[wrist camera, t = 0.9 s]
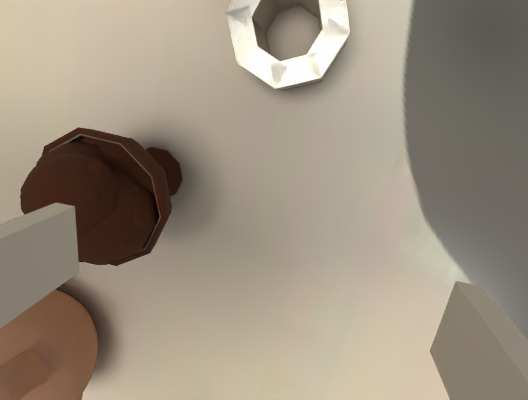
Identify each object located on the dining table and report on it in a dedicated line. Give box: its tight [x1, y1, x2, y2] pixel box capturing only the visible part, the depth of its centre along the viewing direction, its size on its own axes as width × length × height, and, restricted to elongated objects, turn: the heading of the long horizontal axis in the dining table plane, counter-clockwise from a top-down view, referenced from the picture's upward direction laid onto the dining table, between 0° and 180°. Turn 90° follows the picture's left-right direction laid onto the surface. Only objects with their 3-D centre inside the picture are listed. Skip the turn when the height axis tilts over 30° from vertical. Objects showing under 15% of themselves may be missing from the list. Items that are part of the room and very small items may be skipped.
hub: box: [226, 0, 350, 91], centre depth 25 cm, size 8×8×6 cm
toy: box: [0, 289, 98, 400], centre depth 35 cm, size 18×17×15 cm
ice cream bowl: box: [20, 128, 182, 266], centre depth 27 cm, size 11×11×15 cm
